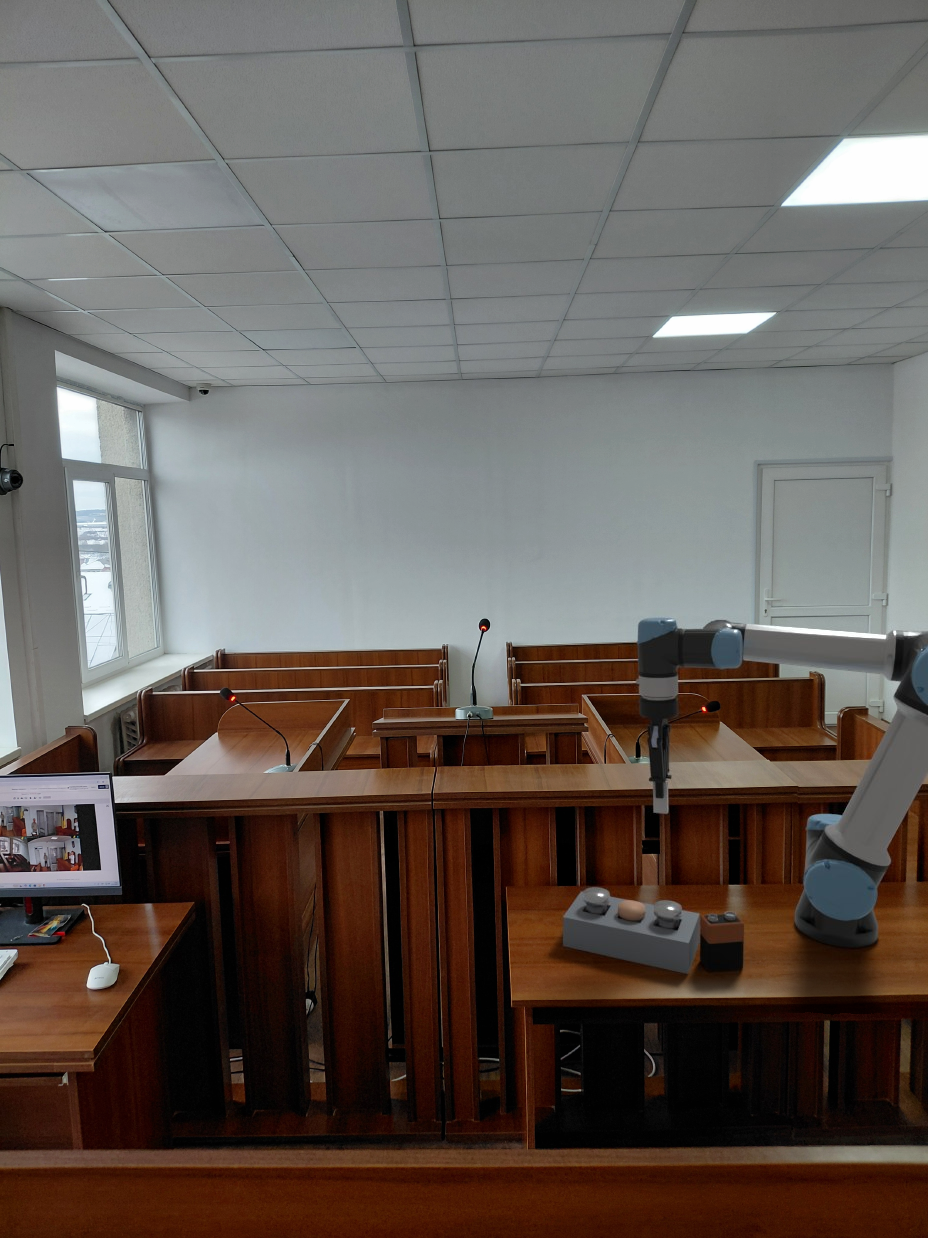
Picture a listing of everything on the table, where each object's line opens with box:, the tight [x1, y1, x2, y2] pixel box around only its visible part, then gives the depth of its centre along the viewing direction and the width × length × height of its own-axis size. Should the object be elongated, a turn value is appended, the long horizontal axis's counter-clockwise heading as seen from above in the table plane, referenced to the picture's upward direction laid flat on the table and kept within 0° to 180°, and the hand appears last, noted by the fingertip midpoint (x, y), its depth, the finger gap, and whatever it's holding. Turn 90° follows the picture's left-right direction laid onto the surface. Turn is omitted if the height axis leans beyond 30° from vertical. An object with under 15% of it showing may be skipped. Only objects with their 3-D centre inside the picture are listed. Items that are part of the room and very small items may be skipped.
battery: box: [699, 910, 745, 973], centre depth 144 cm, size 4×7×10 cm, turn 96°
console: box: [562, 890, 701, 975], centre depth 152 cm, size 24×12×6 cm, turn 64°
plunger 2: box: [653, 899, 683, 931], centre depth 149 cm, size 5×5×6 cm
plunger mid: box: [618, 899, 645, 923], centre depth 152 cm, size 5×5×6 cm
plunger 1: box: [583, 886, 611, 916], centre depth 155 cm, size 5×5×6 cm
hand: (661, 811), depth 156 cm, fingers closed
